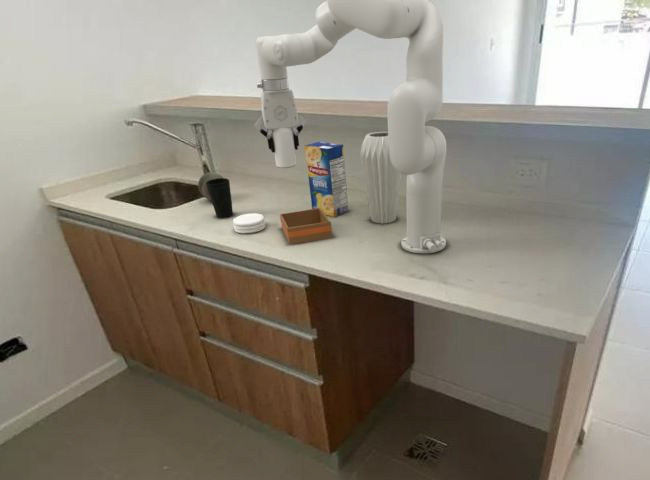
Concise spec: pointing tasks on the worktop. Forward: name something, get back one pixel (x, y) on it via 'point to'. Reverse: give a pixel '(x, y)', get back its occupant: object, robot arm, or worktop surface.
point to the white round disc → (249, 223)
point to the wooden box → (305, 226)
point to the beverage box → (327, 177)
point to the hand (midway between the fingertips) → (284, 149)
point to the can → (284, 147)
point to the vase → (380, 178)
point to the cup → (220, 197)
